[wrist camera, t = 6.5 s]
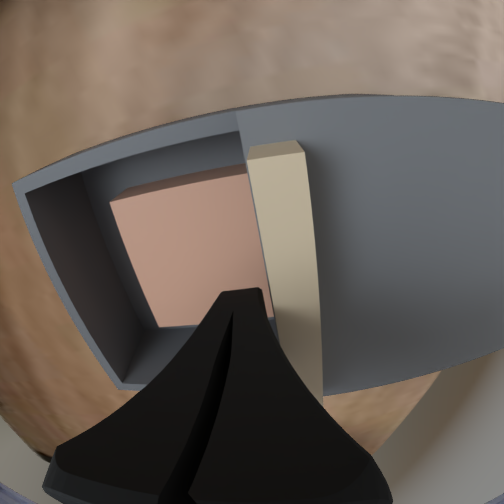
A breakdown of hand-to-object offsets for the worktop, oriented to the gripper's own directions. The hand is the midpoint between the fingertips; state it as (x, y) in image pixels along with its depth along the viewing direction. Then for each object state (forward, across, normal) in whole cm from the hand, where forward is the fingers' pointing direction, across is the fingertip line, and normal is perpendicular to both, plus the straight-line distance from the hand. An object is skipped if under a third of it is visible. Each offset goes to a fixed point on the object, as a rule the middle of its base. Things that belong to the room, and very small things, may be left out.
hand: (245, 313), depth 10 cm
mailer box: (+6, +2, 0) cm, 7 cm away
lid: (+1, -8, 0) cm, 8 cm away
